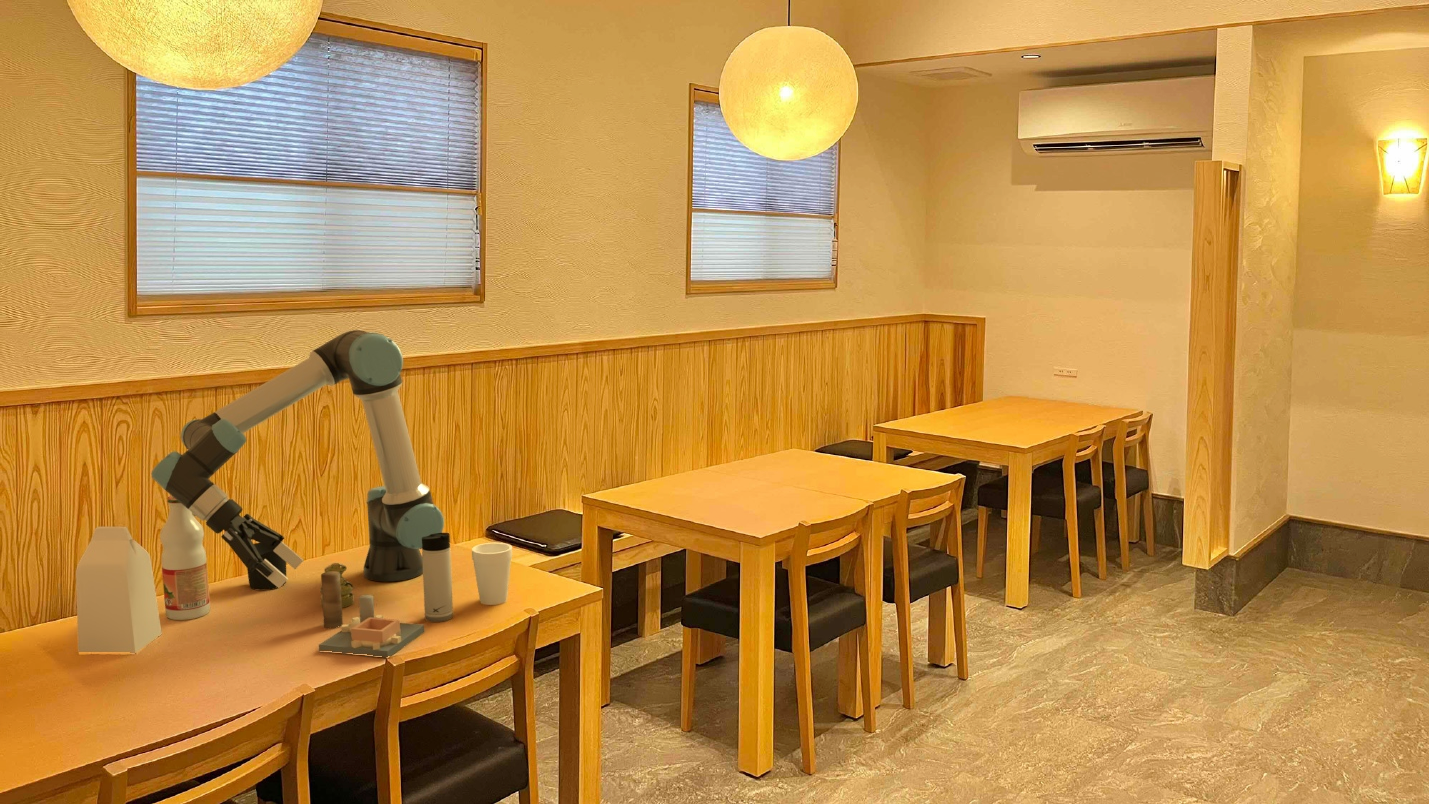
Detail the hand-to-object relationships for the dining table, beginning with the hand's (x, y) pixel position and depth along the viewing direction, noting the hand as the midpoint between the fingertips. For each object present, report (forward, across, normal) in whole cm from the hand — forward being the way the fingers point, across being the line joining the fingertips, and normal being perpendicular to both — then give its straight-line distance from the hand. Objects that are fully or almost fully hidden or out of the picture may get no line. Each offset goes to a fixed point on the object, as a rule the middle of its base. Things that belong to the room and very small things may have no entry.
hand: (292, 574), depth 252 cm
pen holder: (-1, -32, -19) cm, 37 cm away
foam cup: (+39, -14, +21) cm, 46 cm away
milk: (-16, +6, -34) cm, 37 cm away
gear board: (+22, +11, +5) cm, 25 cm away
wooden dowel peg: (+15, 0, -3) cm, 15 cm away
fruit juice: (-10, -12, -28) cm, 32 cm away
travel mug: (+31, -3, +13) cm, 34 cm away
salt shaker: (+13, -15, -5) cm, 21 cm away
